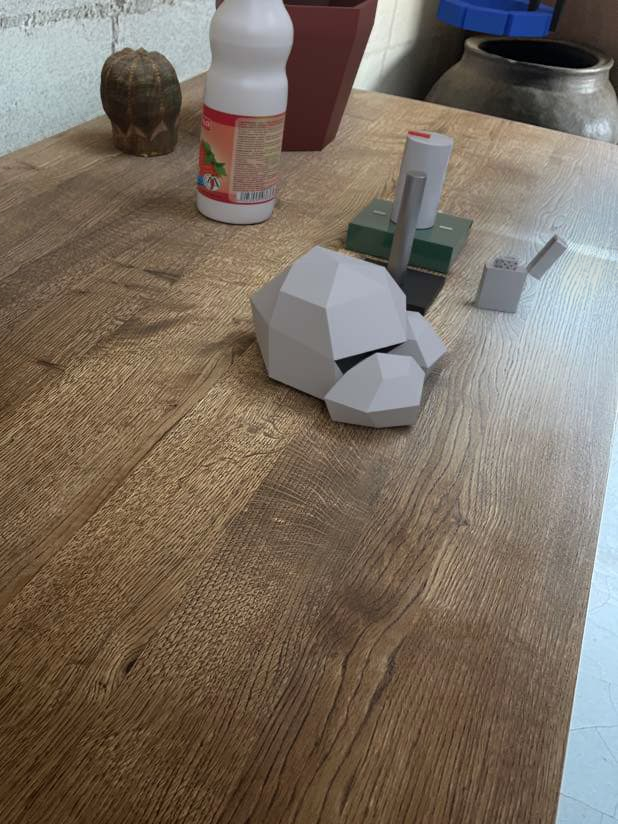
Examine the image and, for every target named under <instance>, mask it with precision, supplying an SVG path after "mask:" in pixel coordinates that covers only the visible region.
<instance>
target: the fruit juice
mask: <svg viewBox="0 0 618 824" xmlns="http://www.w3.org/2000/svg"><path fill="white" fill-rule="evenodd" d="M293 35H294V30H293V24H292V21H291V18H290V16H289V14H288V12H287V10H286V8H285V6H284V4H283V1H282V0H224V1H223V3H222V4H221V5H220V6H219V7H218V9H217V10H216V9H215V12H214V13H213V15H212V17H211V20H210V24H209V31H208V42H209V47H210V48H209V49H210V53H211V61H210V65H209V67H208V69H207V71H206V75H205V78H204V79H205V80H204V86H203V94H202V112H201V126H200V141H199V153H198V169H197V183H196V184H197V185H196V186H197V187H196V196H195V197H196V198H195V199H196V206H197V210H198V212H200V213H201V214H202V215H203V216H205V217H206V218H208V219H211V220H214V221H217V222H220V223H226V224H233V225H251V224H259V223H261V222H264V221H267V220H269V218H271V216H272V215H273V212H274V208H275V204H276V194H277V187H278V179H279V171H280V164H281V163H280V162H281V154H282V151H281V147H282V139H283V130H284V122H285V114H286V107H287V97H288V80H287V76H286V70H285V68H286V62H287V60H288V57H289V54H290V52H291V48H292V45H293Z"/></svg>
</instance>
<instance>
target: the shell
mask: <svg viewBox="0 0 618 824" xmlns="http://www.w3.org/2000/svg"><path fill="white" fill-rule="evenodd" d="M99 95H100V96H99V97H100V101H101V106H102V109H103V111H104V113H105V115H106V116H107V118H108V119H109V121H110V124H111V132H112V139H113V142H114V144H115V146H116V147H117V148H118V149H119V150H121V151H122V152H123V153H127V154H131V155H135V156H140V157H144V158H148V157H153V156H164V155H167V154H168V153H170V152H172V151H173V150H174V148H175V147H176V146H177V144H178V140H179V139H178V137H179V128H180V127H179V126H180V114H181V109H182V103H183V94H182V89H181V83H180V80H179V78H178V75H177V71H176V69H175V68H174V65H173V64H172V63H171V61H170V60H169V59H168V58H167V57H166V56H165V55H164V54H162V53H160V52H159V51H157V50H150V51H148V50H147V49H145V48H144V47H143V46H141V47H139V48H138V49H133V48H132V47H129V46H125V47H123V48H122V49H121V50H118V51H115V52H113V53H111V54H110V55H108V57H106V59H105V60H104V63H103V65H102V68H101V71H100V83H99Z"/></svg>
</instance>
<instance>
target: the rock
mask: <svg viewBox="0 0 618 824" xmlns="http://www.w3.org/2000/svg"><path fill="white" fill-rule="evenodd" d="M249 302H250V309H251V314H252V321H253V328H254V333H255V338H256V340H257V344H258V347H259V349H260V353H261V356H262V359H263V363H264V365H265V369H266V373H267V375H268V377H269V378H270V379H273V380H275V381H277V382H281V383H282V384H285V385H287V386H289V387H291V388H294V389H296V390H299V391H302V392H303V393H306V394H308V395H311V396H313V397H315V398H318V399H320V400H322V401H324V402H325V405H326V408H327V410H328V413H329V417H330V419H331V421H332V422H338V423H344V424H349V425H351V424H352V425H357V426H362V427H370V428H377V429H379V428H391V427H400V426H401V427H402V426H414V425H416V424H417V419H418V414H419V411H420V405H421V401H422V395H423V394H422V393H423V389H424V383H425V382H426V380H427V379H428V378H429V376H430V375H431V374H432V372H433V371H434V370H435V369H436V367H437V366H438V364H439V363H440V362H441V360H442V359H443V358H444V357H445V355H446V354H447V352H449V349H448V347H447V346H446V344H445V343H444V341H443V340H442V338H441V337H440V336H439V334H438V332H437V331H436V330H435V328H434V327H433V325H432V324H431V322H430V321H428V319H426V318H425V317H424V316H422V315H421V314H420V313H419V312H413V311H406V295H405V294H404V293H403V291H402V290H401V289H400V287H399V286H398V285H397V283H396V282H395V281H394V279H393V278H392V277H391V275H390V274H389V273H388V271H387V270H386V268H385V267H382V266H379V265H376V264H373V263H370V262H367V261H364V259H360V258H357V257H354V256H351V255H347V254H344V253H342V252H338V251H335V250H332V249H329V248H325V247H322V246H320V245H315V246H314V247H313V248H311V249H310V250H309V251H308V252H306V253H304V254H303V255H302V256H301V257H299V258H298V259H296V260H295V261H294V262H292V263H291V264H290V265H289V266H287V267H286V268H285V269H283V270H282V271H281V272H280V273H279V274H277V275H276V276H275V277H274V278H272V279H271V280H270V281H268V282H267V283H265V284H264V285H263V286H262V287H261V288H260V289H258V290H257V291H256V292H254V293H253V294H252V295H250V296H249Z"/></svg>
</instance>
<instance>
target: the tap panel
mask: <svg viewBox="0 0 618 824" xmlns="http://www.w3.org/2000/svg"><path fill="white" fill-rule="evenodd" d="M393 202H394V201H391V200H387V199H382V198H378V197H374V198H373V199H372V200H371V201H370V202H369V203H367V205H365V207H363V208H362V209H361V210H360V211H359V212H358V213H357V214H356V215H355V216H354V217H353V218H352V219H351V220H350V221H349V222H348V226H347V231H346V237H345V242H344V249H346V250H350V251H354V252H358V253H361V254H366V255H370V256H375V257H379V258H382V259H385V260H389V257H390V252H391V247H392V242H393V238H394V233H395V228H396V223H395V222H393V221H392V220H391V212H392V207H393ZM473 222H474V220H473V219H470V218H465V217H461V216H457V215H452V214H447V213H443V212H439V211H437V215H436V219H435V223H434V225H433V226H432V227H430V228H426V229H416V230H415V235H414V239H413V244H412V248H411V253H410V257H409V262H408V265H411V266H415V267H419V268H422V269H427V270H430V271H435V272H439V273H444V274H448V273H449V271H450V270H451V268H452V267H453V266H454V264H455V263H456V261H457V260H458V258H459V257H460V256H461V254H462V253H463V251H464V250H465V248H466V247H467V246H468V241H469V238H470V234H471V230H472V227H473Z"/></svg>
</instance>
